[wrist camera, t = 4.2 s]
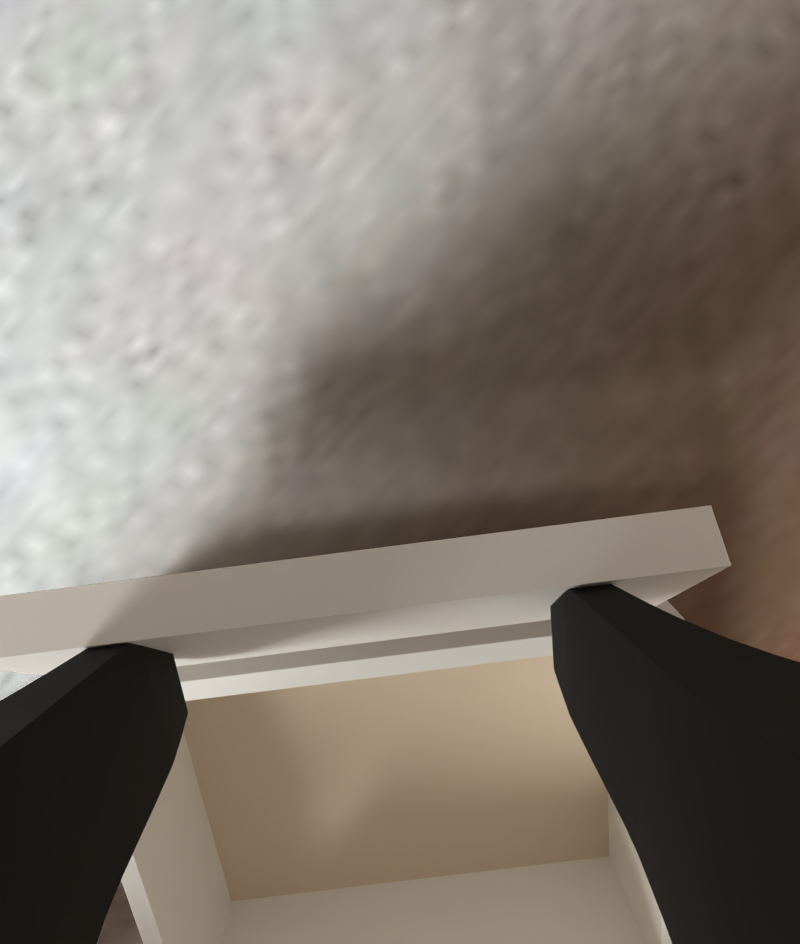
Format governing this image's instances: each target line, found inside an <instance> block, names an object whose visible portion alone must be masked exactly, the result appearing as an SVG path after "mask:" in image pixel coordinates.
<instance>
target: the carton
mask: <svg viewBox="0 0 800 944" xmlns="http://www.w3.org/2000/svg"><path fill="white" fill-rule="evenodd" d="M655 607H657V608H659V609H662V610H664V611H666V612H668V613H670V614H672V615H674V616H676V617H678V618H681V619H683V620H685V619H684V618H683V617H682V616H681V615H680V614H679V613H678V611H677V610H676V609H675V608H674V607H673V606H672V605H671V604H670V603H669V602H668V600H666V601H664V602H663V603H661V604H659V605H657V606H655ZM177 671H178V675H179V679H180V683H181V687H182V691H183V694H184V698H185V702H186V706H187V710H188V715H187V719H186V722H185V726H184V730H183V733H182V737H181V741H180V744H179V747H178V750H177V754H176V757H175V760H174V763H173V765H172V768H171V770H170V773H169V775H168V777H167V779H166V782H165V784H164V786H163V788H162V791H161V793H160V795H159V797H158V800H157V802H156V804H155V806H154V809H153V811H152V813H151V815H150V817H149V820H148V822H147V824H146V826H145V828H144V831H143V833H142V835H141V837H140V839H139V841H138V844H137V846H136V848H135V850H134V852H133V855H132V857H131V859H130V861H129V863H128V866H127V868H126V870H125V872H124V874H123V877H122V879H121V881H122V884H123V887H124V890H125V893H126V896H127V899H128V901H129V904H130V907H131V910H132V913H133V916H134V919H135V921H136V924H137V927H138V930H139V933H140V936H141V939H142V941H143V944H672V942H671V939H670V936H669V934H668V931H667V928H666V925H665V923H664V920H663V917H662V915H661V912H660V910H659V907H658V905H657V902H656V899H655V897H654V894H653V892H652V889H651V887H650V884H649V881H648V879H647V876H646V874H645V871H644V869H643V866H642V863H641V861H640V858H639V856H638V853H637V851H636V849H635V847H634V845H633V842H632V840H631V838H630V836H629V834H628V831H627V829H626V827H625V825H624V823H623V821H622V819H621V817H620V815H619V813H618V811H617V809H616V807H615V805H614V803H613V801H612V799H611V797H610V795H609V793H608V791H607V789H606V787H605V785H604V783H603V781H602V779H601V777H600V776H599V774H598V772H597V770H596V768H595V766H594V764H593V762H592V760H591V758H590V756H589V754H588V752H587V750H586V748H585V746H584V744H583V742H582V740H581V738H580V736H579V734H578V732H577V730H576V727H575V725H574V723H573V721H572V719H571V717H570V715H569V712H568V709H567V706H566V703H565V701H564V698H563V695H562V692H561V689H560V686H559V683H558V680H557V677H556V674H555V671H554V664H553V646H552V629H551V620H544V621H536V622H528V623H520V624H512V625H504V626H496V627H488V628H480V629H472V630H464V631H456V632H448V633H440V634H432V635H424V636H416V637H408V638H400V639H392V640H384V641H376V642H368V643H360V644H353V645H345V646H337V647H329V648H321V649H313V650H305V651H297V652H289V653H281V654H273V655H265V656H257V657H249V658H241V659H233V660H225V661H217V662H209V663H201V664H193V665H185V666H177Z"/></svg>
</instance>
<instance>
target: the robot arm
mask: <svg viewBox="0 0 800 944" xmlns="http://www.w3.org/2000/svg"><path fill="white" fill-rule="evenodd" d="M550 611H551V629H552V646H553V664H554V671H555V674H556V677H557V680H558V683H559V686H560V689H561V692H562V695H563V698H564V701H565V703H566V706H567V709H568V712H569V715H570V717H571V719H572V721H573V723H574V725H575V727H576V730H577V732H578V734H579V736H580V738H581V740H582V742H583V744H584V746H585V748H586V750H587V752H588V754H589V756H590V758H591V760H592V762H593V764H594V766H595V768H596V770H597V772H598V774H599V776H600V777H601V779H602V781H603V783H604V785H605V787H606V789H607V791H608V793H609V795H610V797H611V799H612V801H613V803H614V805H615V807H616V809H617V811H618V813H619V815H620V817H621V819H622V821H623V823H624V825H625V827H626V829H627V831H628V834H629V836H630V838H631V840H632V842H633V845H634V847H635V849H636V851H637V853H638V856H639V858H640V861H641V863H642V866H643V869H644V871H645V874H646V876H647V879H648V881H649V884H650V887H651V889H652V892H653V894H654V897H655V899H656V902H657V905H658V907H659V910H660V912H661V915H662V917H663V920H664V923H665V925H666V928H667V931H668V934H669V936H670V939H671V942H672V944H800V662H796V661H793V660H790V659H787V658H783V657H780V656H777V655H774V654H771V653H768V652H765V651H762V650H759V649H756V648H753V647H751V646H748V645H745V644H742V643H739V642H736V641H733V640H731V639H728V638H726V637H723V636H720V635H718V634H715V633H713V632H711V631H708V630H706V629H704V628H701V627H699V626H697V625H694V624H692V623H690V622H687V621H685V620H683V619H681V618H678V617H676V616H674V615H672V614H670V613H668V612H666V611H664V610H662V609H659V608H657V607H655V606H653V605H651V604H649V603H647V602H645V601H643V600H641V599H639V598H638V597H636V596H634V595H632V594H630V593H628V592H626V591H624V590H622V589H620V588H618V587H616V586H614V585H613V584H604V585H596V586H588V587H580V588H571V589H568V590H566V591H565V592H564V593H563V594H562V595H561V596H560V597H559V598H558V599H557V600H556V601H555V602H554V603H553V604H552V605H551V606H550ZM187 715H188V710H187V706H186V702H185V698H184V694H183V691H182V687H181V683H180V679H179V675H178V671H177V667H176V663H175V659H174V655H173V653H169V652H165V651H161V650H157V649H153V648H149V647H146V646H142V645H137V644H132V643H125V644H117V645H109V646H101V647H93V648H87V649H85V650H84V651H82V652H80V653H79V654H77V655H76V656H74V657H72V658H71V659H69V660H67V661H66V662H64V663H63V664H61V665H59V666H58V667H56V668H55V669H53V670H51V671H50V672H48V673H47V674H45V675H43V676H42V677H40V678H38V679H37V680H35V681H34V682H32V683H30V684H29V685H27V686H25V687H23V688H22V689H20V690H18V691H17V692H15V693H13V694H11V695H10V696H8V697H6V698H5V699H3V700H1V701H0V944H96V943H97V940H98V937H99V934H100V931H101V929H102V926H103V923H104V920H105V917H106V915H107V912H108V910H109V907H110V905H111V902H112V900H113V897H114V895H115V893H116V890H117V888H118V885H119V883H120V881H121V879H122V877H123V874H124V872H125V870H126V868H127V866H128V863H129V861H130V859H131V857H132V855H133V852H134V850H135V848H136V846H137V844H138V841H139V839H140V837H141V835H142V833H143V831H144V828H145V826H146V824H147V822H148V820H149V817H150V815H151V813H152V811H153V809H154V806H155V804H156V802H157V800H158V797H159V795H160V793H161V791H162V788H163V786H164V784H165V782H166V779H167V777H168V775H169V773H170V770H171V768H172V765H173V763H174V760H175V757H176V754H177V750H178V747H179V744H180V741H181V737H182V733H183V730H184V726H185V722H186V719H187Z"/></svg>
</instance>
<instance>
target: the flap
mask: <svg viewBox="0 0 800 944" xmlns="http://www.w3.org/2000/svg"><path fill="white" fill-rule="evenodd" d="M730 566H731V563H730V560H729V557H728V554H727V551H726V548H725V545H724V542H723V539H722V536H721V533H720V530H719V527H718V524H717V521H716V518H715V515H714V512H713V509H712V506H711V505H709V506H701V507H693V508H686V509H678V510H670V511H662V512H654V513H646V514H639V515H631V516H623V517H615V518H607V519H599V520H592V521H584V522H576V523H568V524H560V525H552V526H545V527H537V528H529V529H521V530H513V531H505V532H498V533H490V534H482V535H474V536H466V537H458V538H451V539H443V540H435V541H427V542H419V543H412V544H404V545H396V546H388V547H380V548H372V549H365V550H357V551H349V552H341V553H333V554H325V555H318V556H310V557H302V558H294V559H286V560H278V561H271V562H263V563H255V564H247V565H239V566H231V567H224V568H216V569H208V570H200V571H192V572H184V573H177V574H169V575H161V576H153V577H145V578H137V579H130V580H122V581H114V582H106V583H98V584H90V585H83V586H75V587H67V588H59V589H51V590H43V591H36V592H28V593H20V594H12V595H4V596H0V670H3V671H11V672H20V673H28V674H37V675H45V674H47V673H48V672H50V671H51V670H53V669H55V668H56V667H58V666H59V665H61V664H63V663H64V662H66V661H67V660H69V659H71V658H72V657H74V656H76V655H77V654H79V653H80V652H82V651H84V650H85V649H87V648H93V647H101V646H109V645H117V644H125V643H132V644H137V645H142V646H146V647H149V648H153V649H157V650H161V651H165V652H169V653H173V655H174V659H175V663H176V667H177V666H185V665H193V664H201V663H209V662H217V661H225V660H233V659H241V658H249V657H257V656H265V655H273V654H281V653H289V652H297V651H305V650H313V649H321V648H329V647H337V646H345V645H353V644H360V643H368V642H376V641H384V640H392V639H400V638H408V637H416V636H424V635H432V634H440V633H448V632H456V631H464V630H472V629H480V628H488V627H496V626H504V625H512V624H520V623H528V622H536V621H544V620H551V611H550V606H551V605H552V604H553V603H554V602H555V601H556V600H557V599H558V598H559V597H560V596H561V595H562V594H563V593H564V592H565V591H566V590H568V589H571V588H580V587H588V586H596V585H604V584H613V585H614V586H616V587H618V588H620V589H622V590H624V591H626V592H628V593H630V594H632V595H634V596H636V597H638V598H639V599H641V600H643V601H645V602H647V603H649V604H651V605H653V606H657V605H659V604H661V603H663V602H664V601H666V600H668V599H670V598H672V597H674V596H676V595H677V594H679V593H681V592H683V591H685V590H687V589H689V588H690V587H692V586H694V585H696V584H698V583H700V582H702V581H703V580H705V579H707V578H709V577H711V576H713V575H715V574H717V573H718V572H720V571H722V570H724V569H726V568H728V567H730Z"/></svg>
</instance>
